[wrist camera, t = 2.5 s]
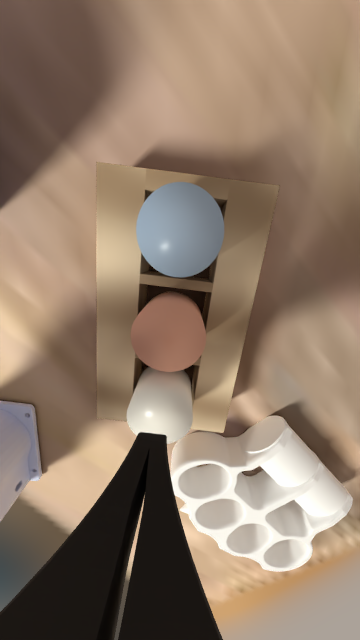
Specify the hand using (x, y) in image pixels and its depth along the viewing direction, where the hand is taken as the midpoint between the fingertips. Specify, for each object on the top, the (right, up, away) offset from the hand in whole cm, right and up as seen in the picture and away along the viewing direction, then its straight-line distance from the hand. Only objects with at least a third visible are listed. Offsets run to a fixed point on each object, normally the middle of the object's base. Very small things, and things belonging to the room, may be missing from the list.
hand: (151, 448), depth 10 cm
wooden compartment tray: (+1, +7, +6) cm, 9 cm away
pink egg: (+1, +6, +4) cm, 7 cm away
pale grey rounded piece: (0, +1, +5) cm, 5 cm away
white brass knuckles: (+9, -11, +12) cm, 18 cm away
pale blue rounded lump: (+1, +11, +2) cm, 12 cm away
